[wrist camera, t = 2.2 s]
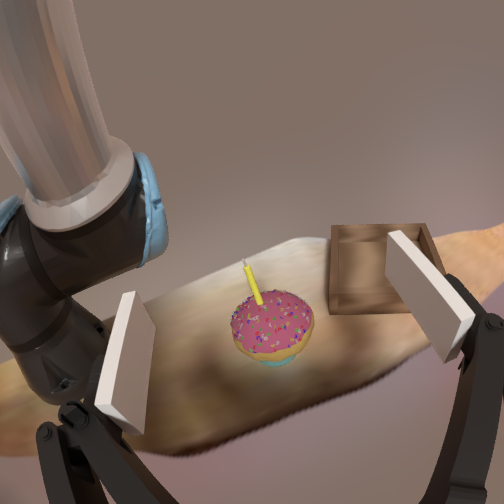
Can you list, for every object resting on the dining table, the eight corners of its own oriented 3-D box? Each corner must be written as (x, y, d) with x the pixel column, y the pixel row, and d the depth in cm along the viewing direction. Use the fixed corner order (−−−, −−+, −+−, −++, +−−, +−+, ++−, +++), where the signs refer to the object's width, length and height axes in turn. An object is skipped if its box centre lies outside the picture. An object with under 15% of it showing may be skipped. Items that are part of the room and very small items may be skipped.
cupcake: (225, 357, 34) (192, 277, 27) (272, 312, 39) (255, 230, 32) (284, 394, 29) (265, 315, 22) (330, 339, 33) (327, 252, 27)
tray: (329, 314, 36) (328, 293, 34) (332, 244, 48) (331, 225, 46) (445, 311, 32) (452, 290, 30) (422, 242, 44) (425, 223, 42)
